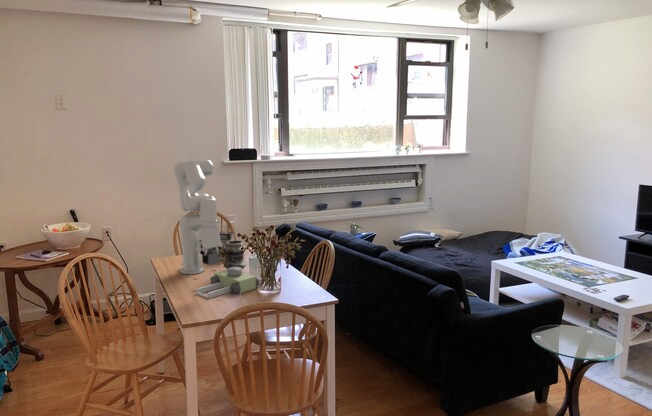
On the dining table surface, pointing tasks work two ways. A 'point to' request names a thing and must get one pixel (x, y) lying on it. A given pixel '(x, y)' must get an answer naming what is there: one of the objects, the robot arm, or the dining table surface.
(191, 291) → the dining table surface
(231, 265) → the apothecary jar
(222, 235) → the coffee box
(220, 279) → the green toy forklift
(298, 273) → the dining table surface
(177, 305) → the dining table surface
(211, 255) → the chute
